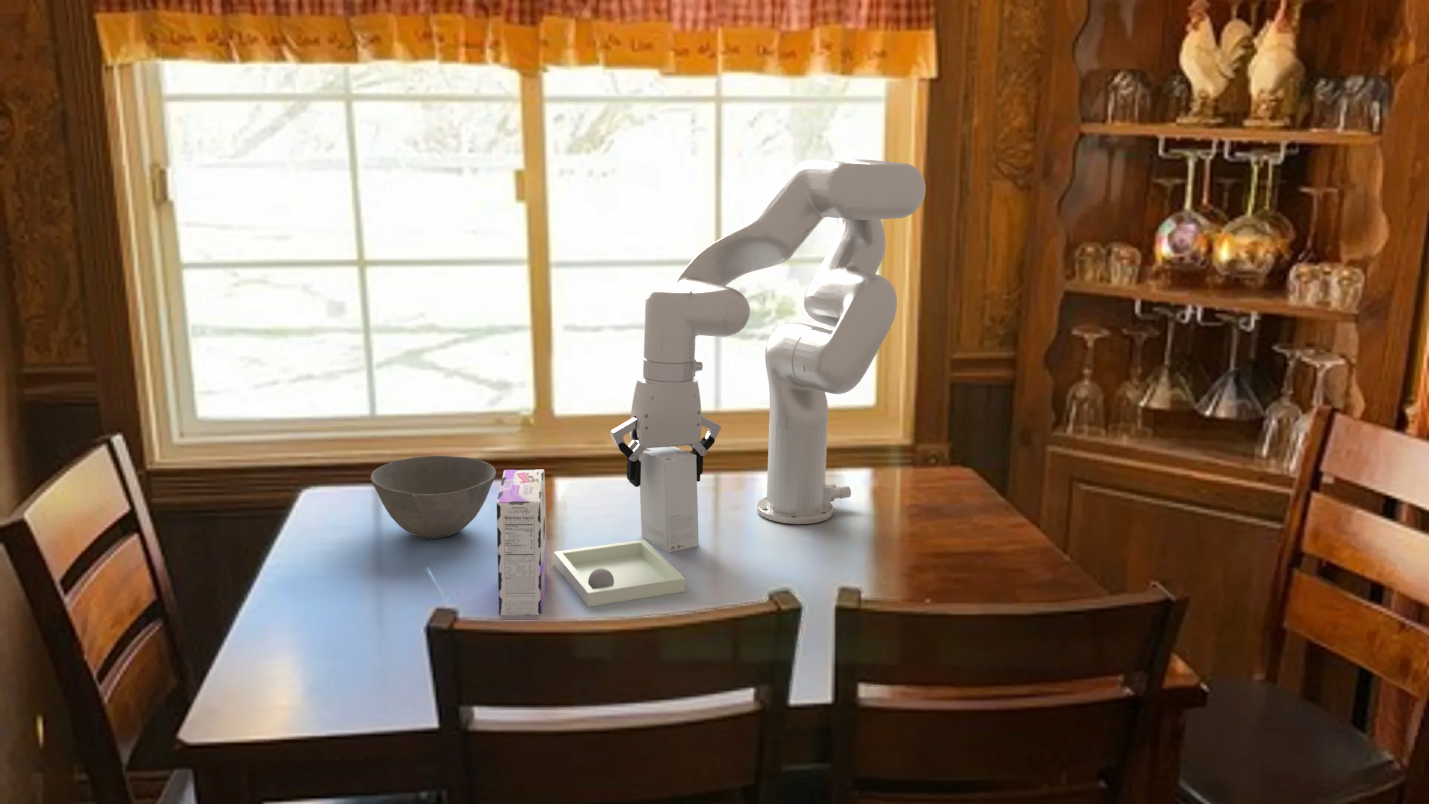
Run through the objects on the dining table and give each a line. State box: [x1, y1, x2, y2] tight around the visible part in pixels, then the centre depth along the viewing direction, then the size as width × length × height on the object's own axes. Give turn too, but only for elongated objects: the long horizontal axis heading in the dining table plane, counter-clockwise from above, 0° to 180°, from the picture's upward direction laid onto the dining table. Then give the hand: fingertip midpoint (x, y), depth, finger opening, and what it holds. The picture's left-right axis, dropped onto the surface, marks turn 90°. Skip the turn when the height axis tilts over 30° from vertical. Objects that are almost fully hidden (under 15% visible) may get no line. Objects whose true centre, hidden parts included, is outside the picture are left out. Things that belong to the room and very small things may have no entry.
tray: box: [553, 538, 686, 607], centre depth 173 cm, size 14×16×2 cm
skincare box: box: [638, 446, 699, 553], centre depth 186 cm, size 8×6×15 cm
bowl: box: [370, 455, 497, 539], centre depth 189 cm, size 19×19×10 cm
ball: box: [588, 568, 614, 589], centre depth 168 cm, size 4×4×4 cm
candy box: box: [496, 468, 548, 616], centre depth 165 cm, size 14×6×16 cm, turn 5°
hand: (664, 481), depth 185 cm, fingers open, 9 cm apart
